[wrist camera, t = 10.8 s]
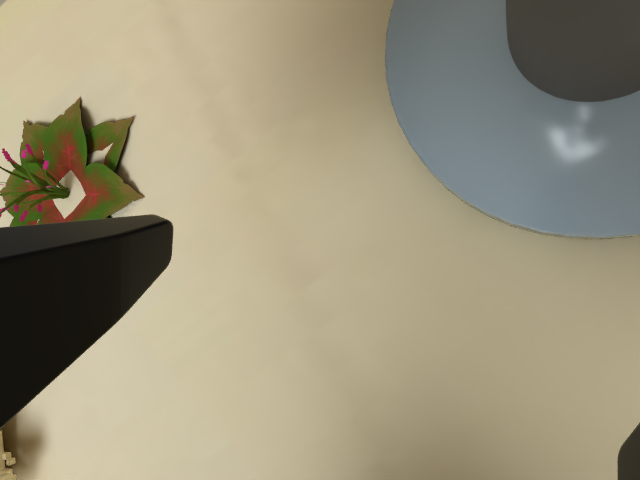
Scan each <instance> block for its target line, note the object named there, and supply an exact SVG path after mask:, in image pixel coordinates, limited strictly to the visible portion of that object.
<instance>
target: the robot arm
mask: <svg viewBox="0 0 640 480" xmlns="http://www.w3.org/2000/svg"><path fill="white" fill-rule="evenodd" d="M172 243H173V225H172V223H171V222H170V221H169V220H167V219H164V218H162V217H159V216H157V215H140V216H129V217H117V218H106V219H94V220H83V221H71V222H60V223H49V224H37V225H26V226H14V227H3V228H0V429H1V428H2V427H3V426H4V425H5V424H6V423H7V422H8V421H9V420H11V419H12V418H13V417H14V416H15V415H16V414H17V413H18V412H19V411H20V410H22V409H23V408H24V407H25V406H26V405H27V404H28V403H29V402H30V401H31V400H32V399H34V398H35V397H36V396H37V395H38V394H39V393H40V392H41V391H42V390H43V389H45V388H46V387H47V386H48V385H49V384H50V383H51V382H52V381H53V380H54V379H55V378H57V377H58V376H59V375H60V374H61V373H62V372H63V371H64V370H65V369H66V368H68V367H69V366H70V365H71V364H72V363H73V362H74V361H75V360H76V359H77V358H79V357H80V356H81V355H82V354H83V353H84V352H85V351H86V350H87V349H88V348H89V347H91V346H92V345H93V344H94V343H95V342H96V341H97V340H98V339H99V338H100V337H102V336H103V335H104V334H105V333H106V332H107V331H108V330H109V329H110V328H111V327H112V326H114V325H115V324H116V323H117V322H118V321H119V320H120V319H121V318H122V317H123V316H124V315H125V314H126V313H127V311H128V310H129V309H130V308H131V307H132V306H133V305H134V304H135V303H136V301H137V300H138V299H139V298H140V297H141V296H142V295H143V294H144V292H145V291H146V290H147V289H148V288H149V287H150V286H151V285H152V283H153V282H154V281H155V280H156V279H157V278H158V277H159V276H160V274H161V273H162V272H163V271H164V270H165V269H166V268H167V266H168V265H169V263H170V260H171V256H172ZM618 480H640V423H639V424H638V426H637V427H636V428H635V429H634V431H633V432H632V433H631V435H630V436H629V437H628V438H627V440H626V441H625V442H624V443H623V445H622V446H621V449H620V451H619V454H618Z"/></svg>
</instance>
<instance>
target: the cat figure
mask: <svg viewBox="0 0 640 480" xmlns="http://www.w3.org/2000/svg"><path fill="white" fill-rule="evenodd" d="M5 460H6V464H7V465H13V464H15V463H16V462H15V458H11V452H4V449H3V437H2V430H0V480H17V474H13V469H12V468H5Z"/></svg>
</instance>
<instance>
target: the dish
mask: <svg viewBox="0 0 640 480" xmlns="http://www.w3.org/2000/svg"><path fill="white" fill-rule="evenodd" d="M385 62H386V78H387V84H388V89H389V94H390V98H391V103H392V105H393V108H394V111H395V114H396V117H397V119H398V122H399V124H400V126H401V128H402V130H403V132H404V134H405V136H406V137H407V139H408V141H409V143H410V145H411V146H412V148H413V149H414V150H415V152H416V153H417V155H418V156H419V157H420V159H421V160H422V161H423V163H424V164H425V165H426V167H427V168H428V169H429V171H430V172H431V173H432V174H433V175H434V176H435V177H436V178H437V179H438V180H439V181H440V182H441V183H442V184H443V185H444V186H445V187H446V189H448V190H449V191H450V192H452V193H453V194H454V195H456V196H457V197H458V198H459V199H461V200H462V201H463V202H465V203H466V204H468V205H469V206H471V207H473V208H475V209H476V210H478V211H480V212H481V213H483V214H485V215H487V216H489V217H491V218H493V219H496V220H498V221H501V222H503V223H505V224H508V225H510V226H513V227H516V228H520V229H524V230H527V231H531V232H534V233H538V234H544V235H550V236H556V237H563V238H574V239H611V238H624V237H633V236H638V235H640V90H639V91H637V92H635V93H632V94H630V95H627V96H624V97H620V98H616V99H611V100H607V101H599V102H577V101H570V100H565V99H561V98H557V97H554V96H552V95H550V94H548V93H546V92H544V91H542V90H540V89H538V88H537V87H536V86H534V85H533V84H532V83H530V82H529V81H528V80H527V79H526V78H525V77H524V76H523V75H522V74H521V72H520V71H519V70H518V68H517V66H516V65H515V63H514V61H513V59H512V56H511V53H510V50H509V46H508V40H507V25H506V0H395V1H394V4H393V7H392V10H391V15H390V20H389V25H388V30H387V37H386V51H385Z"/></svg>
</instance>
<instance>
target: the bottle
mask: <svg viewBox="0 0 640 480" xmlns="http://www.w3.org/2000/svg"><path fill="white" fill-rule="evenodd" d="M506 25H507V40H508V46H509V50H510V53H511V56H512V59H513V61H514V63H515V65H516V66H517V68H518V70H519V71H520V72H521V74H522V75H523V76H524V77H525V78H526V79H527V80H528V81H529V82H530V83H532V84H533V85H534V86H536V87H537V88H538V89H540V90H542V91H544V92H546V93H548V94H550V95H552V96H554V97H557V98H561V99H565V100H570V101H577V102H599V101H607V100H611V99H616V98H620V97H624V96H627V95H630V94H632V93H635V92H637V91H639V90H640V0H506Z"/></svg>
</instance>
